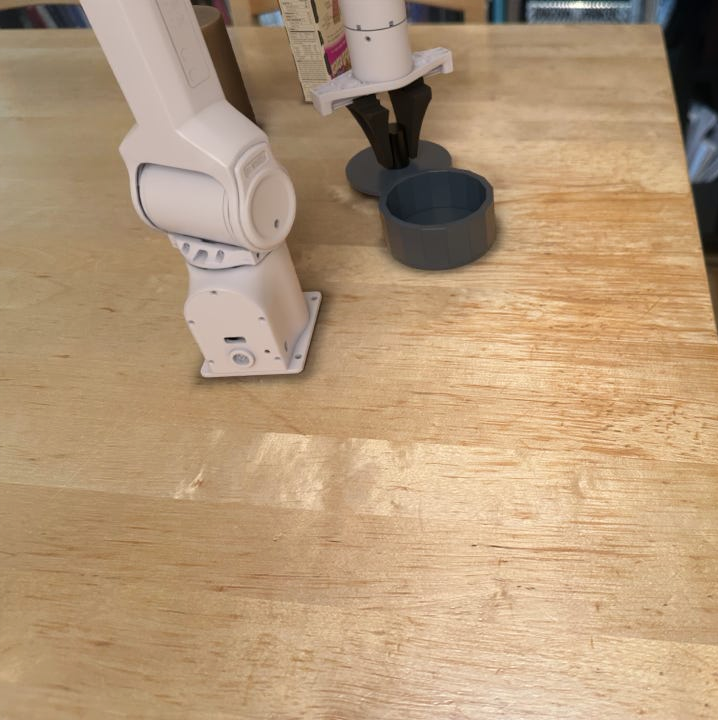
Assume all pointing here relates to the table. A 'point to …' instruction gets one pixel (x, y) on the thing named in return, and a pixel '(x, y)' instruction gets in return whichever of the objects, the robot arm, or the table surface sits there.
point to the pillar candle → (224, 58)
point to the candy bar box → (315, 41)
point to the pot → (438, 218)
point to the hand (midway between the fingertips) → (397, 159)
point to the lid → (375, 177)
